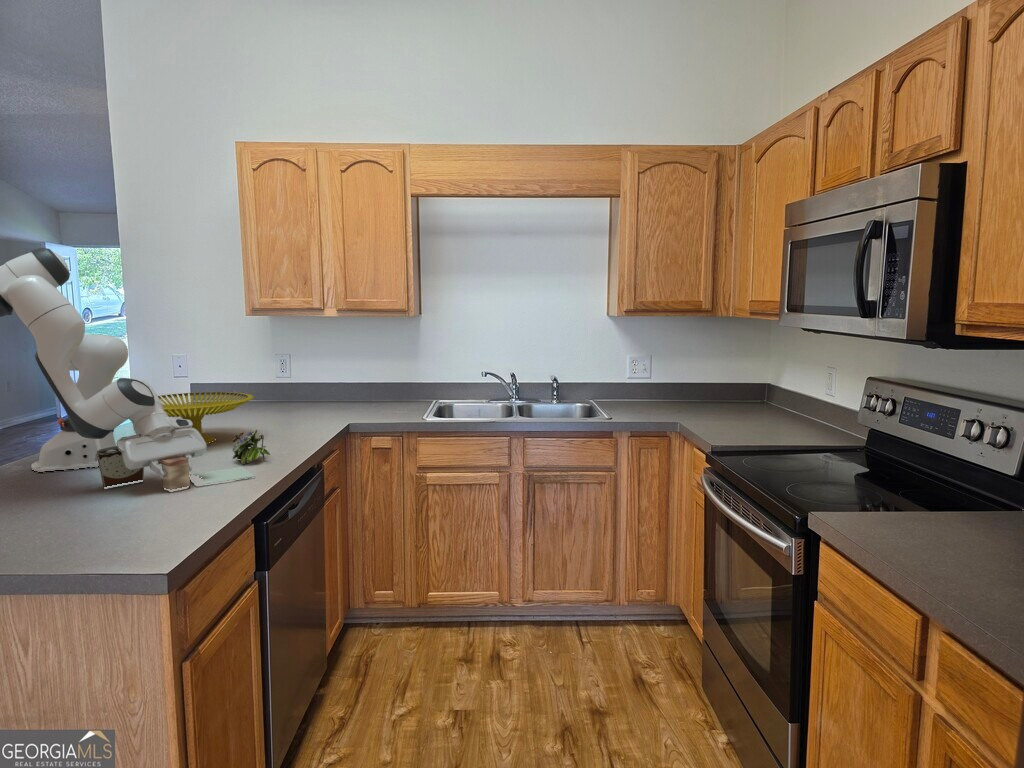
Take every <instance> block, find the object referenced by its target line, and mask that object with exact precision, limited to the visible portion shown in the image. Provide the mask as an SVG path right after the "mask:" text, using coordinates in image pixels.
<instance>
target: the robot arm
mask: <svg viewBox="0 0 1024 768" xmlns="http://www.w3.org/2000/svg"><path fill="white" fill-rule="evenodd" d="M69 270H70V269H69V266H68V264H67V262H66V261H65V260H64V258H63V257H62V256H61V255H59V254H58V253H57V252H56V251H55V252H54V251H53V250H51V249H50V248H47V247H38V248H35V249H31V250H30V252H28V253H25V254H22V255H19V256H17V257H14V258H12V259H9V260H8V261H6V262H5V263H4V264H2V265H0V318H1V317H6V316H12V315H13V312H15V313H16V315H17V316H18V318H19V319H20V320H21V322H22V323H23V325H24V326H25V327H26V328H27V329H28V330H29V331H30V333H31V334H32V337H33V338H34V341H35V344H36V352H35V354H34V357H35V361H36V364H37V365H38V368H39V369H40V371H41V373H42V374H43V377H44V378H45V380H46V381H47V383H48V384H49V387H50V388H51V390H52V392H53V393H54V394H55V397H57V399H58V401H59V402H60V404H61V406H62V408H63V410H64V411H65V413H66V415H67V417H65V418H63V417H61V418H58V419H57V424H58V426H59V427H60V431H59V432H58V433H57V434H56V435H54V436H53V437H51V438H50V439H49V440H48V441H46V442H45V443H44V444H43V445H42V446H41V448H40V451H39V457H38V459H39V460H36V461H34V462H33V463H31V465H30V469H31V468H32V470H34V471H38V472H43V471H54V470H64V471H66V470H65V469H74V470H80V469H79V468H85V469H87V468H86V467H95V468H98V467H97V466H99V463H98V458H97V461H95V455H96V453H97V451H98V450H100V449H104V448H108V447H113V446H117V447H118V449H119V450H120V451H121V452H122V457H123V460H124V463H125V466H126V467H127V468H128V469H130V470H133V469H138V468H143V467H144V468H147V467H149V469H150V470H152V472H154V473H156V474H158V477H159V478H160V479H162V478H163V477H167V475H168V472H167V471H166V468H163V469H162V466H160V465H162V464H161V460H166V459H171V458H176V457H183V458H187V459H188V462H189V473H191V472H192V471H193V466H192V464H191V463H192V458H199V457H202V456H203V455H204V454H205V452H206V450H207V448H208V447H207V446H208V444H206V443H205V441H204V439H203V437H202V436H201V434H200V433H199V432H198V431H197V430H196V429H194V428H192V426H193V423H192V421H190V420H186V419H182V418H178V417H169V416H168V415H167V414H166V413H165V412H164V410H163V405H162V404H163V402H162V401H161V400H160V399H159V397H158V396H159V395H158V394H157V393H156V391H155V390H154V388H153V387H152V386H151V385H150V384H149V382H147V381H146V380H144V379H139V378H128V377H119V378H118V379H116V380H114V378H115V375H116V374H117V373H118V372H119V370H120V369H121V368H123V367H124V365H126V363H127V361H128V358H129V349H128V345H126V343H125V341H123V340H122V339H121V338H119V337H115V336H111V335H106V334H87V333H86V324H85V321H84V319H83V317H82V316H81V314H80V312H78V310H77V309H76V307H74V305H73V304H72V303H71V302H70V301H69V299H67V297H66V296H64V294H62V292H61V291H59V289H58V287H62V286H64V284H66V283H67V282H68V281H69V280H70V277H71V272H70V271H69ZM85 333H86V334H85ZM70 371H74V372H76V371H77V372H78V378H77V380H76V383H75V381H74V380H73V377H72V376H71V374H70ZM113 380H114V381H113ZM128 420H129V421H130V422H131V424H132V428H133V431H134V433H135V434H134V435H130V436H122V437H120V439H117V442H116V441H115V434H114V432H115V429H116V428H118V427H119V426H120V425H121V424H123V423H124V422H126V421H128ZM32 470H31V471H32ZM34 471H33V472H34ZM38 472H37V473H38ZM54 472H55V471H54ZM43 473H44V472H43Z"/></svg>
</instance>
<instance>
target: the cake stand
mask: <svg viewBox="0 0 1024 768" xmlns="http://www.w3.org/2000/svg"><path fill="white" fill-rule="evenodd" d="M205 394H206V395H205ZM210 394H211V395H210ZM183 395H184V397H183ZM194 395H195V400H194ZM199 395H200V396H199ZM157 396H158V397H159V399H160V401H161V403H162V405H163V410H164V412H165V413H166V414H167V415H168V416H169V417H172V418H179V417H181V418H180V419H186V420H190V421H192V423H193V426H192V428H194V429H196V430H197V431H198V432H199V433H200V434H201V436H202V437H203V439H204V441H205V443H209V442H212V441H215V439H216V437H212V436H210V435H207V434H205V433H203V429H202V420H203V418H204V417H205V416H209V415H216V414H222V413H228V412H230V411H233V410H235V409H237V408H238V407H240V406H242V405H245V404H246V403H248V402H250V401H251V400H253V399H254V398H255V396H254V395H253V394H250V393H243V392H232V391H228V392H227V391H203V392H202V391H199V392H197V391H196V392H184V393H182V392H181V393H171V394H161V395H157ZM189 396H190V397H189ZM204 396H205V398H204ZM214 396H215V397H214ZM178 397H179V398H178ZM199 397H200V398H199ZM184 398H185V400H184ZM189 398H190V401H189ZM208 398H209V399H208ZM174 399H175V400H174ZM179 399H180V400H179ZM180 401H181V402H180ZM194 401H195V402H194ZM215 442H216V441H215ZM209 444H210V443H209Z"/></svg>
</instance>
